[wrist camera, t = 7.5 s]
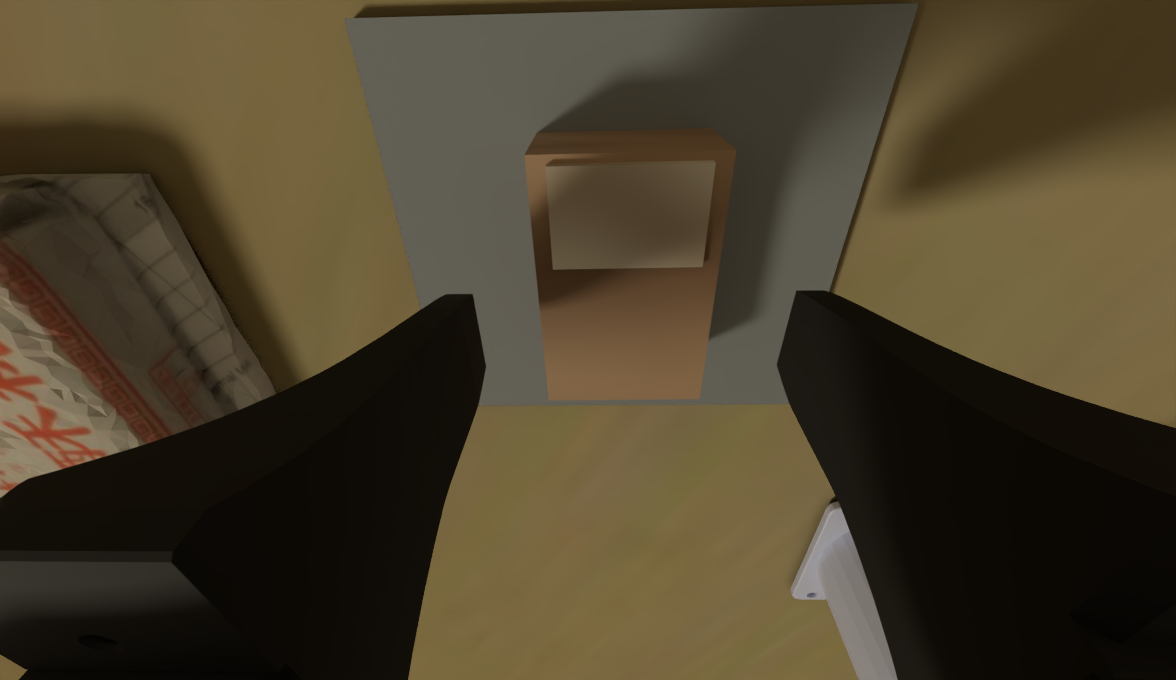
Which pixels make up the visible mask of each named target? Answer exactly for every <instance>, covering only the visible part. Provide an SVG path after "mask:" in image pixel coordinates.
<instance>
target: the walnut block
mask: <svg viewBox="0 0 1176 680" xmlns="http://www.w3.org/2000/svg"><path fill="white" fill-rule="evenodd" d="M524 157H525V167H526V177H527V188H528V198H529V208H530V218H531V228H532V238H533V248H534V258H535V268H536V278H537V288H538V298H539V308H540V318H541V328H542V338H543V348H544V359H545V369H546V379H547V389H548V399H549V400H658V399H700V392H701V385H702V379H703V372H704V365H705V359H706V352H707V345H708V338H709V332H710V325H711V318H712V312H713V305H714V298H715V291H716V285H717V278H718V271H719V265H720V258H721V251H722V244H723V238H724V231H725V224H726V218H727V211H728V204H729V197H730V191H731V184H732V177H733V171H734V164H735V157H736V149H735V148H734V147H733V146H732V145H730V144H729V143H728V142H727V141H726V140H725V139H724V138H723V137H721V136H720V135H719V134H718V133H717V132H716V131H715V130H714V129H712V128H698V129H658V130H618V131H578V132H538V133H536V135H535V137H534V139H533V140H532V142H531V144H530V146H529V147H528V149H527V151H526V153H525V155H524Z"/></svg>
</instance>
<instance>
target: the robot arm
mask: <svg viewBox="0 0 1176 680" xmlns="http://www.w3.org/2000/svg"><path fill="white" fill-rule="evenodd" d="M777 368H778V371H779V374H780V378H781V381H782V384H783V387H784V390H785V393H786V396H787V399H788V402H789V404H790V406H791V408H792V410H793V412H794V414H795V416H796V418H797V420H798V422H799V424H800V426H801V428H802V430H803V432H804V434H805V436H806V438H807V440H808V442H809V444H810V446H811V448H812V449H813V451H814V453H815V455H816V457H817V459H818V461H819V463H820V465H821V467H822V469H823V471H824V473H825V475H826V477H827V479H828V481H829V483H830V485H831V487H832V489H833V491H834V493H835V496H836V498H837V500H838V501H837V502H833V503H831V504H830V505H828V507H827V508H826V510H825V512H824V515H823V517H822V519H821V521H820V524H819V526H818V528H817V530H816V533H815V535H814V537H813V539H812V542H811V544H810V546H809V548H808V551H807V553H806V555H805V557H804V560H803V562H802V564H801V566H800V569H799V571H798V573H797V575H796V578H795V580H794V582H793V584H792V587H791V593H792V596H793V597H794V598H796V599H827V602H828V604H829V607H830V609H831V612H832V614H833V617H834V619H835V622H836V624H837V627H838V629H839V632H840V634H841V637H842V639H843V642H844V644H845V647H846V649H847V652H848V654H849V657H850V659H851V662H852V664H853V667H854V669H855V672H856V674H857V677H858V679H859V680H1176V428H1173V427H1169V426H1166V425H1162V424H1159V423H1155V422H1152V421H1148V420H1145V419H1141V418H1138V417H1134V416H1131V415H1127V414H1124V413H1121V412H1117V411H1114V410H1111V409H1108V408H1105V407H1102V406H1098V405H1095V404H1092V403H1089V402H1086V401H1083V400H1079V399H1076V398H1073V397H1070V396H1067V395H1064V394H1061V393H1058V392H1055V391H1052V390H1049V389H1047V388H1044V387H1041V386H1038V385H1035V384H1033V383H1030V382H1028V381H1025V380H1022V379H1020V378H1017V377H1014V376H1012V375H1009V374H1006V373H1004V372H1001V371H999V370H996V369H993V368H991V367H989V366H986V365H984V364H981V363H979V362H976V361H974V360H972V359H969V358H967V357H965V356H963V355H961V354H958V353H956V352H954V351H952V350H949V349H947V348H945V347H943V346H941V345H938V344H936V343H934V342H932V341H930V340H928V339H926V338H924V337H922V336H919V335H917V334H915V333H913V332H911V331H909V330H907V329H905V328H903V327H901V326H899V325H897V324H895V323H893V322H891V321H889V320H887V319H885V318H883V317H881V316H879V315H877V314H876V313H874V312H872V311H870V310H868V309H866V308H864V307H862V306H860V305H858V304H856V303H853V302H851V301H849V300H847V299H845V298H843V297H841V296H838V295H836V294H833V293H831V292H828V291H825V290H803V291H796V293H795V297H794V301H793V305H792V308H791V312H790V316H789V320H788V323H787V327H786V331H785V335H784V339H783V342H782V346H781V350H780V354H779V357H778V361H777ZM485 370H486V363H485V357H484V352H483V346H482V341H481V336H480V330H479V325H478V319H477V314H476V309H475V303H474V298H473V294H445V295H444V296H442V297H440V298H438V299H436V300H435V301H433V302H432V303H430V304H429V305H427V306H426V307H424V308H423V309H421V310H420V311H418V312H417V313H415V314H414V315H412V316H411V317H410V318H408V319H407V320H405V321H404V322H402V323H401V324H399V325H398V326H396V327H395V328H393V329H392V330H390V331H389V332H387V333H386V334H384V335H383V336H381V337H380V338H378V339H377V340H375V341H373V342H372V343H370V344H368V345H367V346H365V347H364V348H362V349H360V350H359V351H357V352H355V353H354V354H352V355H351V356H349V357H347V358H346V359H344V360H342V361H341V362H339V363H337V364H335V365H334V366H332V367H330V368H328V369H326V370H324V371H323V372H321V373H319V374H317V375H315V376H313V377H311V378H309V379H307V380H305V381H303V382H301V383H299V384H297V385H295V386H293V387H291V388H289V389H286V390H284V391H282V392H280V393H277V394H275V395H273V396H270V397H268V398H266V399H263V400H261V401H259V402H256V403H254V404H252V405H249V406H247V407H245V408H242V409H240V410H238V411H235V412H233V413H231V414H228V415H226V416H223V417H221V418H218V419H215V420H213V421H210V422H207V423H205V424H202V425H199V426H196V427H194V428H191V429H188V430H185V431H182V432H180V433H177V434H174V435H171V436H168V437H165V438H162V439H159V440H156V441H153V442H150V443H147V444H144V445H141V446H138V447H135V448H132V449H129V450H125V451H122V452H118V453H115V454H112V455H108V456H105V457H101V458H98V459H95V460H91V461H88V462H84V463H81V464H78V465H74V466H71V467H67V468H64V469H61V470H57V471H54V472H50V473H47V474H43V475H39V476H35V477H32V478H28V479H27V480H25V481H23V482H21V483H20V484H18V485H17V486H15V487H14V488H13V489H11V490H10V491H9V492H7V493H6V494H5V495H3V496H2V497H1V498H0V654H1V655H2V656H4V657H6V658H7V659H9V660H11V661H12V662H14V663H16V664H18V665H19V666H21V667H23V668H24V669H28V670H27V671H26V672H25V673H24V675H23V676H22V677H21V678H20V679H19V680H408V676H409V670H410V664H411V659H412V653H413V647H414V642H415V637H416V632H417V626H418V621H419V616H420V611H421V606H422V600H423V595H424V590H425V586H426V581H427V577H428V572H429V567H430V563H431V558H432V553H433V549H434V544H435V540H436V536H437V532H438V528H439V523H440V519H441V515H442V511H443V507H444V503H445V499H446V496H447V493H448V490H449V486H450V483H451V481H452V478H453V475H454V472H455V469H456V467H457V464H458V461H459V458H460V455H461V453H462V450H463V447H464V444H465V441H466V439H467V436H468V433H469V430H470V427H471V425H472V422H473V419H474V416H475V413H476V410H477V407H478V404H479V400H480V396H481V391H482V386H483V381H484V376H485Z"/></svg>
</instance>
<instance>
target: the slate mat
mask: <svg viewBox="0 0 1176 680" xmlns="http://www.w3.org/2000/svg"><path fill="white" fill-rule="evenodd" d="M918 5H919V3H897V4H860V5H823V6H786V7H749V8H712V9H674V10H637V11H600V12H563V13H526V14H489V15H452V16H414V17H377V18H344V20H345V23H346V27H347V31H348V35H349V38H350V42H351V46H352V50H353V54H354V57H355V61H356V65H357V69H358V73H359V76H360V80H361V84H362V88H363V91H364V95H365V99H366V103H367V107H368V110H369V114H370V118H371V122H372V125H373V129H374V133H375V137H376V141H377V144H378V148H379V152H380V156H381V160H382V163H383V167H384V171H385V175H386V178H387V182H388V186H389V190H390V194H391V197H392V201H393V205H394V209H395V213H396V216H397V220H398V224H399V228H400V231H401V235H402V239H403V243H404V247H405V250H406V254H407V258H408V262H409V265H410V269H411V273H412V277H413V281H414V284H415V288H416V292H417V296H418V300H419V303H420V307H421V309H423V308H424V307H426V306H427V305H429V304H430V303H432V302H433V301H435V300H436V299H438V298H440V297H442V296H444V295H445V294H473V298H474V303H475V309H476V314H477V319H478V325H479V330H480V336H481V341H482V346H483V352H484V357H485V363H486V370H485V376H484V381H483V386H482V391H481V396H480V400H479V404H478V406H515V405H702V404H789V402H788V399H787V396H786V393H785V390H784V387H783V384H782V381H781V378H780V374H779V371H778V368H777V361H778V357H779V354H780V350H781V346H782V342H783V339H784V335H785V331H786V327H787V323H788V320H789V316H790V312H791V308H792V305H793V301H794V297H795V293H796V291H803V290H825V291H828V292H829V290H830V287H831V284H832V280H833V277H834V274H835V271H836V268H837V264H838V261H839V258H840V255H841V252H842V248H843V245H844V242H845V239H846V236H847V232H848V229H849V226H850V223H851V220H852V216H853V213H854V210H855V207H856V204H857V200H858V197H859V194H860V191H861V188H862V184H863V181H864V178H865V175H866V172H867V168H868V165H869V162H870V159H871V156H872V152H873V149H874V146H875V143H876V140H877V136H878V133H879V130H880V127H881V124H882V120H883V117H884V114H885V111H886V108H887V104H888V101H889V98H890V95H891V92H892V88H893V85H894V82H895V79H896V76H897V72H898V69H899V66H900V63H901V60H902V56H903V53H904V50H905V47H906V44H907V40H908V37H909V34H910V31H911V28H912V24H913V21H914V18H915V15H916V12H917V8H918ZM698 128H712V129H714V130H715V131H716V132H717V133H718V134H719V135H720V136H721V137H723V138H724V139H725V140H726V141H727V142H728V143H729V144H730V145H732V146H733V147H734V148H735V149H736V157H735V164H734V171H733V177H732V184H731V191H730V197H729V204H728V211H727V218H726V224H725V231H724V238H723V244H722V251H721V258H720V265H719V271H718V278H717V285H716V291H715V298H714V305H713V312H712V318H711V325H710V332H709V338H708V345H707V352H706V359H705V365H704V372H703V379H702V385H701V392H700V399H658V400H549V399H548V389H547V379H546V369H545V359H544V348H543V338H542V328H541V318H540V308H539V298H538V288H537V278H536V268H535V258H534V248H533V238H532V228H531V218H530V208H529V198H528V188H527V177H526V167H525V157H524V155H525V153H526V151H527V149H528V147H529V146H530V144H531V142H532V140H533V139H534V137H535V135H536V133H538V132H578V131H618V130H658V129H698Z"/></svg>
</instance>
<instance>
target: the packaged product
mask: <svg viewBox="0 0 1176 680" xmlns="http://www.w3.org/2000/svg"><path fill="white" fill-rule="evenodd" d="M275 394H276V392H275V390H274V388H273V385H272V383H271V381H270V380H269V378H268V376H267V374H266V373H265V371H264V370H263V369H262V367H261V364H260V362H259V360H258V358H257V357H256V356H255V354H254V353H253V351H252V350H251V348H250V347H249V345H248V344H247V342H246V341H245V339H244V338H243V337H242V335H241V334H240V332H239V331H238V329H237V328H236V326H235V325H234V322H233V320H232V318H231V316H230V314H229V312H228V310H227V308H226V307H225V305H224V303H223V302H222V300H221V299H220V297H219V295H218V294H217V292H216V291H215V289H214V288H213V286H212V284H211V283H210V281H209V280H208V278H207V276H206V274H205V272H204V270H203V268H202V266H201V265H200V263H199V261H198V259H197V257H196V255H195V253H194V251H193V249H192V248H191V246H190V244H189V242H188V240H187V238H186V236H185V234H184V232H183V231H182V229H181V227H180V225H179V223H178V221H177V220H176V218H175V216H174V215H173V213H172V212H171V210H170V208H169V207H168V205H167V204H166V202H165V200H164V199H163V197H162V196H161V194H160V192H159V191H158V189H157V188H156V186H155V184H154V182H153V180H152V178H151V176H150V174H141V173H133V174H18V175H7V176H0V498H1V497H2V496H3V495H5V494H6V493H7V492H9V491H10V490H11V489H13V488H14V487H15V486H17V485H18V484H20V483H21V482H23V481H25V480H27V479H28V478H32V477H35V476H39V475H43V474H47V473H50V472H54V471H57V470H61V469H64V468H67V467H71V466H74V465H78V464H81V463H84V462H88V461H91V460H95V459H98V458H101V457H105V456H108V455H112V454H115V453H118V452H122V451H125V450H129V449H132V448H135V447H138V446H141V445H144V444H147V443H150V442H153V441H156V440H159V439H162V438H165V437H168V436H171V435H174V434H177V433H180V432H182V431H185V430H188V429H191V428H194V427H196V426H199V425H202V424H205V423H207V422H210V421H213V420H215V419H218V418H221V417H223V416H226V415H228V414H231V413H233V412H235V411H238V410H240V409H242V408H245V407H247V406H249V405H252V404H254V403H256V402H259V401H261V400H263V399H266V398H268V397H270V396H273V395H275Z"/></svg>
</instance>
